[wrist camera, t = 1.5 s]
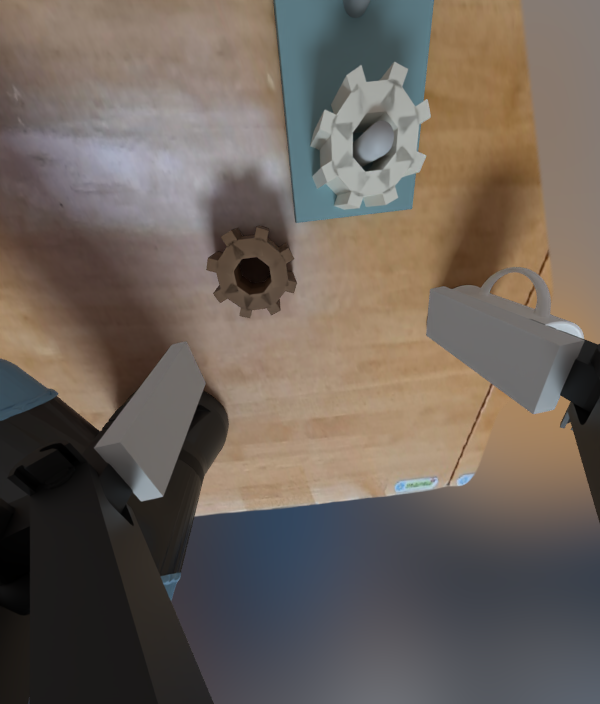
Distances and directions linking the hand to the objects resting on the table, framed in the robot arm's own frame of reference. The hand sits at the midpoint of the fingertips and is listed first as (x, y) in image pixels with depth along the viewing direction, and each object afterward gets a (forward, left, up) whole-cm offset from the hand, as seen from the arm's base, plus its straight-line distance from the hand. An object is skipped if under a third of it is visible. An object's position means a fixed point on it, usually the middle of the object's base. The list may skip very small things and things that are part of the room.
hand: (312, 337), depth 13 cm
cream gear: (+7, +10, -16) cm, 20 cm away
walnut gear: (-4, +1, -18) cm, 18 cm away
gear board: (+7, +15, -18) cm, 24 cm away
